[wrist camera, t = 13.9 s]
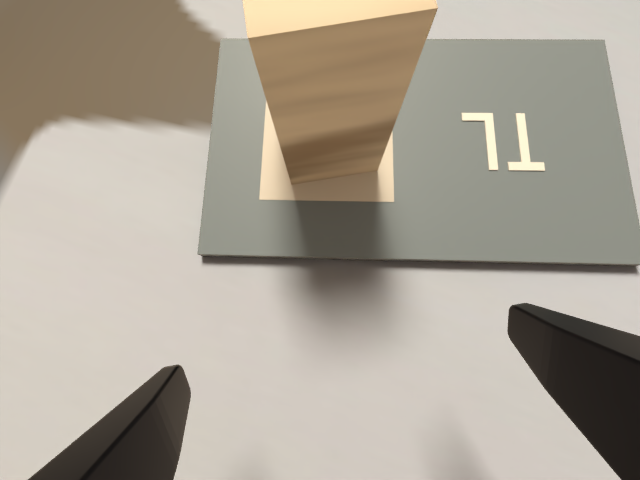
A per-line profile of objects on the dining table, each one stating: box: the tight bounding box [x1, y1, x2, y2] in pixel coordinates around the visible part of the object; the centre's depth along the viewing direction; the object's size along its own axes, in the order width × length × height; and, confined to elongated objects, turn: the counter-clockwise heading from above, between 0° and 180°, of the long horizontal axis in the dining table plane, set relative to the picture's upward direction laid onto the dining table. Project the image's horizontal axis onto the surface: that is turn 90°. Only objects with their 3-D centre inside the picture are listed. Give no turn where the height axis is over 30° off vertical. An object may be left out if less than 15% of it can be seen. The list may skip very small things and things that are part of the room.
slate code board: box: [198, 39, 640, 266], centre depth 19 cm, size 24×14×1 cm, turn 88°
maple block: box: [243, 0, 438, 185], centre depth 14 cm, size 5×5×10 cm
